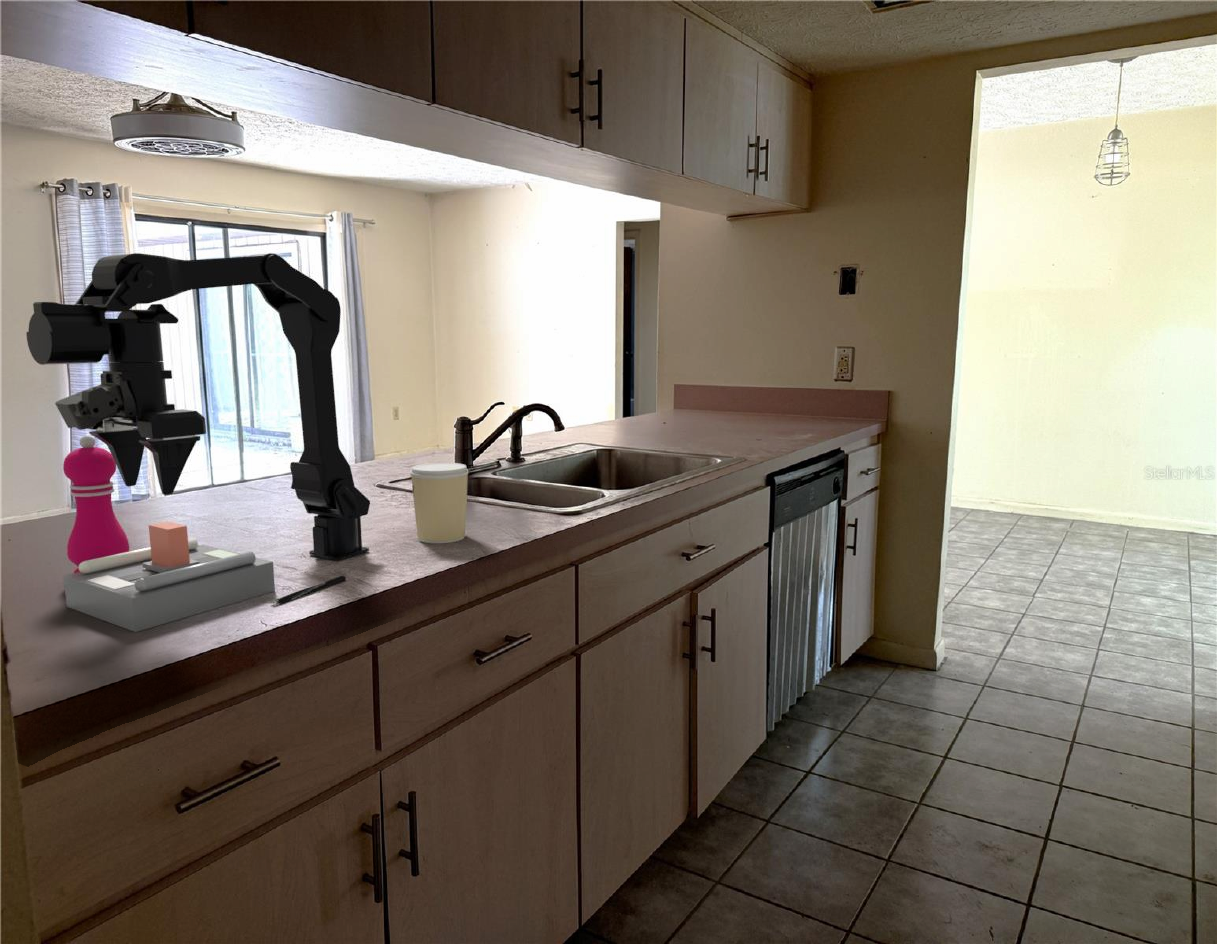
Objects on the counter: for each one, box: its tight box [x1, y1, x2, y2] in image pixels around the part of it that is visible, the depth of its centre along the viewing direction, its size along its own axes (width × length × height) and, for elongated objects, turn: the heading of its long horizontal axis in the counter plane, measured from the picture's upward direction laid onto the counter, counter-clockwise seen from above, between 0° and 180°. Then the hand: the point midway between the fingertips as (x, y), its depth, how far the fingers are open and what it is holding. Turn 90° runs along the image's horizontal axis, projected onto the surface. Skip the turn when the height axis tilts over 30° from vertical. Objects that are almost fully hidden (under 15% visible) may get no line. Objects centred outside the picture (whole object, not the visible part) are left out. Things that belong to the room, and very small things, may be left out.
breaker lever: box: [142, 520, 199, 573], centre depth 103 cm, size 4×5×5 cm
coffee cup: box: [409, 462, 469, 544], centre depth 135 cm, size 9×9×12 cm
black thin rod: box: [269, 575, 347, 608], centre depth 107 cm, size 12×1×1 cm, turn 153°
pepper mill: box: [62, 435, 130, 573], centre depth 111 cm, size 7×7×20 cm
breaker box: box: [63, 537, 276, 633], centre depth 104 cm, size 18×16×6 cm
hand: (148, 490), depth 101 cm, fingers open, 9 cm apart
